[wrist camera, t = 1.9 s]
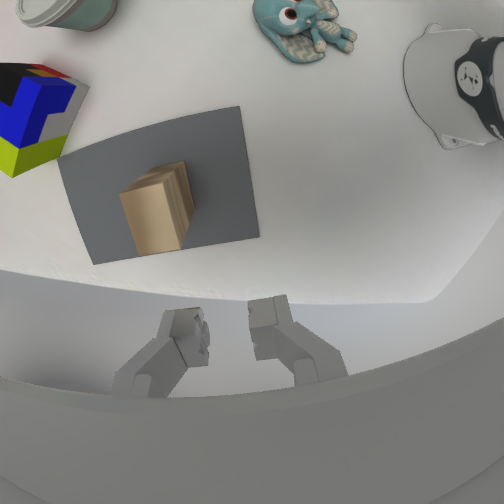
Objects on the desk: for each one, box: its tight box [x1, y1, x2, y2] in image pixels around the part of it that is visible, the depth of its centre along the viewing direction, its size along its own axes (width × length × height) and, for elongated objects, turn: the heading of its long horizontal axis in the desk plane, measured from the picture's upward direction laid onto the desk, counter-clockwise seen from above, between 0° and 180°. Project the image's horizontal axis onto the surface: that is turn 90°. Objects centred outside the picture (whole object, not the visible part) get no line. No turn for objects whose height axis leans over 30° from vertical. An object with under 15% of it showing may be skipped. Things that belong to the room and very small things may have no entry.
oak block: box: [119, 161, 195, 256], centre depth 26 cm, size 4×6×10 cm, turn 8°
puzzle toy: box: [0, 63, 90, 178], centre depth 20 cm, size 10×10×10 cm
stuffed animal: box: [252, 0, 357, 63], centre depth 20 cm, size 11×7×12 cm
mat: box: [57, 106, 260, 265], centre depth 31 cm, size 24×16×1 cm, turn 98°
